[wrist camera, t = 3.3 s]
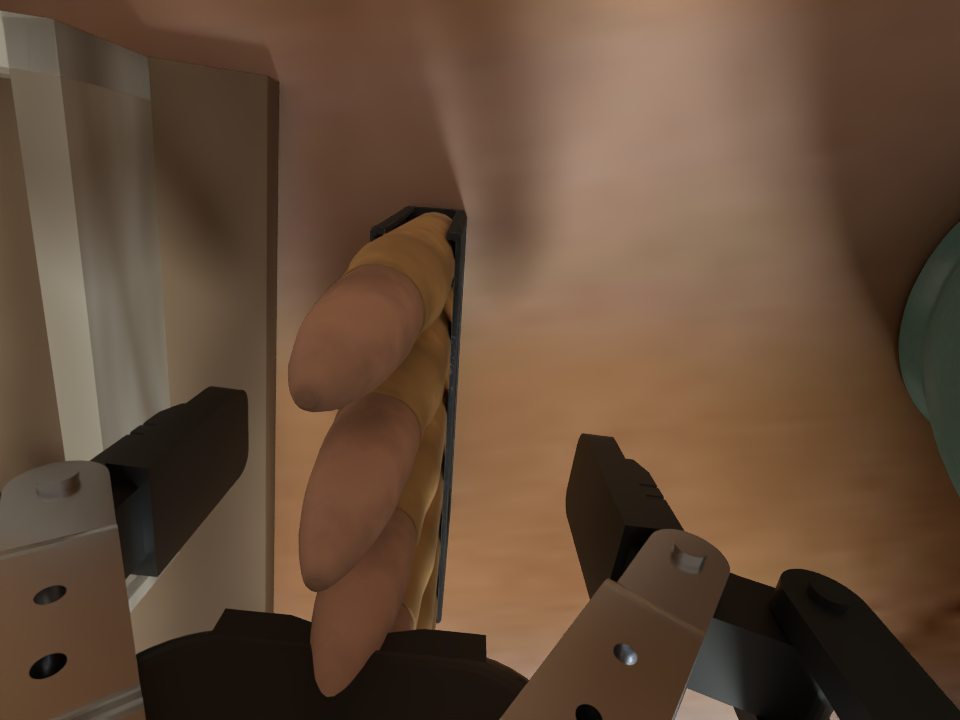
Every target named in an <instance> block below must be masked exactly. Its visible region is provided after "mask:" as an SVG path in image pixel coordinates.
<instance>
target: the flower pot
mask: <svg viewBox="0 0 960 720" xmlns="http://www.w3.org/2000/svg"><path fill="white" fill-rule="evenodd" d="M899 363H900V369H901V373H902V377H903V381H904V383H905V386H906V389H907V391H908V393H909V395H910V397H911V399H912V401H913V403H914V404H915V406H916V407H917V409H918V410H919V411H920V412H921V413H922V415H923V416H924V417H925V418H926V419H927V420H928V421H929V422H930V424H931V427H932V431H933V435H934V438H935V442H936V445H937V448H938V451H939V453H940V456H941V459H942V461H943V463H944V466H945V468H946V470H947V473H948V475H949V478H950V480H951V482H952V484H953V486H954V488H955V490H956V492H957V494H958V496H959V497H960V221H959V222H958V223H957V224H956V225H955V226H954V227H953V228H952V229H951V230H950V232H949V233H948V234H947V235H946V236H945V237H944V238H943V239H942V241H941V242H940V243H939V245H938V246H937V248H936V249H935V250H934V252H933V253H932V255H931V256H930V257H929V259H928V260H927V262H926V264H925V266H924V267H923V269H922V271H921V273H920V274H919V276H918V278H917V280H916V282H915V284H914V286H913V288H912V291H911V293H910V295H909V298H908V301H907V304H906V307H905V310H904V314H903V318H902V322H901V328H900V335H899Z"/></svg>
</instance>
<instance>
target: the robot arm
mask: <svg viewBox="0 0 960 720" xmlns="http://www.w3.org/2000/svg"><path fill="white" fill-rule="evenodd" d="M248 452H249V430H248V396H247V393H246V392H245V391H244V390H239V389H231V388H223V387H215V386H209V387H207V388H206V389H204V390H203V391H202V392H200V393H199V394H198V395H196V396H195V397H194V398H192V399H191V400H190V401H188V402H187V403H181V404H178V405H176V406H173V407H170V408H168V409H165V410H162V411H159V412H158V413H157V414H155V415H154V416H152V417H151V418H149V419H148V420H147V421H145V422H144V423H143V425H140V426H138V427H137V428H135V429H134V430H132V431H131V432H130V435H125V436H124V437H122V438H121V439H120V440H118V441H117V442H115V443H114V444H113V445H111V446H110V447H108V448H107V449H105V450H104V451H103V452H101V453H100V454H98V455H97V456H95V457H94V458H93V459H91V460H90V461H84V460H73V461H63V462H56V463H51V464H47V465H43V466H40V467H37V468H34V469H31V470H29V471H26V472H24V473H22V474H20V475H18V476H17V477H15V478H14V479H12V480H11V481H10V482H8V483H7V484H6V485H5V487H4V488H3V490H2V492H0V720H675V717H676V715H677V712H678V709H679V707H680V704H681V702H682V699H683V696H684V694H685V691H686V689H687V688H688V689H691V690H693V691H696V692H698V693H701V694H703V695H706V696H708V697H711V698H713V699H716V700H718V701H721V702H723V703H726V704H728V705H731V706H733V707H734V710H735V712H736V714H737V717H738V719H739V720H830V719H829V718H830V716H831V714H832V712H833V710H834V711H835V713H836V714H837V716H838V717H839V719H840V720H960V711H959V709H958V708H957V707H956V706H955V705H954V704H953V703H952V701H951V700H950V699H949V698H948V697H947V696H946V695H945V693H944V692H943V691H942V690H941V689H940V688H939V687H938V685H937V684H936V683H935V682H934V681H933V680H932V678H931V677H930V676H929V675H928V674H927V673H926V672H925V670H924V669H923V668H922V667H921V666H920V665H919V664H918V662H917V661H916V660H915V659H914V658H913V657H912V656H911V654H910V653H909V652H908V651H907V650H906V649H905V648H904V646H903V645H902V644H901V643H900V642H899V641H898V640H897V638H896V637H895V636H894V635H893V634H892V633H891V631H890V630H889V629H888V628H887V627H886V626H885V625H884V623H883V622H882V621H881V620H880V619H879V618H878V617H877V615H876V614H875V613H874V612H873V611H872V610H871V609H870V607H869V606H868V605H867V604H866V603H865V602H864V601H863V600H862V599H861V598H860V597H859V596H857V595H856V594H855V593H854V592H852V591H851V590H850V589H848V588H847V587H845V586H843V585H842V584H840V583H838V582H837V581H835V580H833V579H831V578H829V577H826V576H824V575H821V574H819V573H816V572H813V571H809V570H804V569H789V570H786V571H784V572H783V573H782V574H781V576H780V579H779V581H778V583H777V586H776V588H774V587H771V586H768V585H765V584H762V583H758V582H755V581H752V580H749V579H746V578H743V577H740V576H738V575H735V574H732V573H730V566H729V563H728V561H727V560H726V558H725V557H724V555H723V554H722V553H721V552H720V551H719V550H718V549H717V548H716V547H714V546H713V545H712V544H710V543H709V542H707V541H706V540H704V539H702V538H700V537H698V536H696V535H694V534H691V533H688V532H685V531H684V530H683V528H682V526H681V525H680V523H679V521H678V520H677V518H676V516H675V515H674V513H673V511H672V510H671V508H670V506H669V505H668V503H667V502H666V500H664V497H663V495H662V493H661V492H660V490H659V488H657V485H656V483H655V482H654V480H653V478H652V477H651V475H650V474H649V472H648V471H647V470H645V469H644V468H643V467H642V466H640V465H639V464H638V463H637V462H636V461H634V460H632V459H625V457H624V455H623V453H622V452H621V450H620V448H619V446H618V444H617V442H616V441H615V439H614V438H613V437H608V436H600V435H592V434H584V433H583V434H581V436H580V438H579V440H578V444H577V448H576V452H575V457H574V461H573V465H572V470H571V474H570V478H569V483H568V487H567V493H566V514H567V518H568V522H569V525H570V529H571V533H572V536H573V540H574V544H575V547H576V551H577V554H578V558H579V562H580V565H581V569H582V572H583V576H584V580H585V583H586V587H587V591H588V594H589V598H590V601H589V602H588V603H587V605H586V606H585V607H584V609H583V610H582V611H581V613H580V614H579V615H578V617H577V618H576V619H575V621H574V622H573V623H572V624H571V626H570V627H569V628H568V630H567V631H566V632H565V634H564V635H563V636H562V638H561V639H560V640H559V642H558V643H557V644H556V646H555V647H554V648H553V650H552V651H551V652H550V654H549V655H548V656H547V657H546V659H545V660H544V661H543V663H542V664H541V665H540V667H539V668H538V669H537V671H536V672H535V673H534V675H533V676H532V677H531V679H530V680H528V679H527V678H525V677H524V676H522V675H521V674H519V673H518V672H516V671H514V670H513V669H511V668H510V667H508V666H505V665H503V664H501V663H499V662H497V661H495V660H492V659H489V658H487V657H486V635H479V634H470V633H460V632H450V631H441V630H431V629H416V630H408V631H400V632H391V633H387V635H386V638H385V640H384V642H383V644H382V646H381V648H380V650H376V651H375V652H374V653H373V654H372V655H371V656H370V658H369V659H368V660H367V662H366V663H365V665H364V666H363V668H362V669H361V670H360V672H359V673H358V674H357V675H356V677H355V678H354V679H353V680H352V681H351V683H350V684H349V685H348V686H347V687H346V688H345V689H344V690H342V691H341V692H339V693H338V694H336V695H335V696H330V697H326V696H325V695H324V694H323V693H321V691H320V689H319V687H318V685H317V682H316V680H315V674H314V665H313V654H312V648H311V644H310V635H311V626H312V622H309V621H306V620H304V619H301V618H298V617H295V616H292V615H286V614H276V613H266V612H257V611H247V610H237V609H227V608H225V610H224V612H223V614H222V615H221V617H220V619H219V620H218V622H217V624H216V625H215V627H214V629H213V630H211V631H203V632H198V633H194V634H189V635H185V636H181V637H178V638H175V639H171V640H168V641H165V642H163V643H160V644H158V645H155V646H152V647H150V648H148V649H146V650H144V651H141V652H139V653H137V654H136V652H135V645H134V638H133V631H132V624H131V617H130V610H129V602H128V595H127V588H126V581H125V580H126V579H127V577H128V576H129V575H130V574H132V575H141V576H151V577H158V576H159V575H160V574H161V572H162V571H163V570H164V569H165V568H166V566H167V565H168V564H169V563H170V562H171V560H172V559H173V558H174V557H175V555H176V554H177V553H178V552H179V551H180V549H181V548H182V547H183V546H184V544H185V543H186V542H187V541H188V540H189V538H190V537H191V536H192V535H193V533H194V532H195V531H196V530H197V529H198V527H199V526H200V525H201V524H202V523H203V521H204V520H205V519H206V518H207V516H208V515H209V514H210V513H211V512H212V510H213V509H214V508H215V507H216V505H217V504H218V503H219V502H220V501H221V499H222V498H223V497H224V496H225V494H226V493H227V492H228V491H229V490H230V488H231V487H232V486H233V485H234V484H235V482H236V481H237V480H238V479H239V477H240V476H241V475H242V473H243V471H244V469H245V466H246V463H247V459H248Z"/></svg>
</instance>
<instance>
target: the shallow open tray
mask: <svg viewBox="0 0 960 720" xmlns="http://www.w3.org/2000/svg"><path fill="white" fill-rule="evenodd" d="M278 133H279V82H278V81H276V80H274V79H272V78H270V77H269V76H265V75H259V74H252V73H246V72H240V71H233V70H227V69H221V68H214V67H208V66H202V65H196V64H189V63H183V62H177V61H170V60H164V59H158V58H151V57H147V56H144V55H142V54H139V53H137V52H134V51H132V50H129V49H127V48H124V47H122V46H119V45H117V44H114V43H112V42H109V41H107V40H104V39H102V38H100V37H97V36H95V35H92V34H90V33H87V32H85V31H82V30H80V29H77V28H75V27H72V26H70V25H67V24H65V23H62V22H60V21H57V20H55V19H50V18H44V17H37V16H31V15H25V14H19V13H13V12H6V11H0V492H2V490H3V488H4V487H5V485H6V484H7V483H8V482H10V481H11V480H12V479H14V478H15V477H17V476H18V475H20V474H22V473H24V472H26V471H29V470H31V469H34V468H37V467H40V466H43V465H47V464H51V463H56V462H63V461H73V460H84V461H90V460H91V459H93V458H94V457H95V456H97V455H98V454H100V453H101V452H103V451H104V450H105V449H107V448H108V447H110V446H111V445H113V444H114V443H115V442H117V441H118V440H120V439H121V438H122V437H124V436H125V435H130V432H131V431H132V430H134V429H135V428H137V427H138V426H140V425H143V423H144V422H145V421H147V420H148V419H149V418H151V417H152V416H154V415H155V414H157V413H158V412H159V411H162V410H165V409H168V408H170V407H173V406H176V405H178V404H181V403H187V402H188V401H190V400H191V399H192V398H194V397H195V396H196V395H198V394H199V393H200V392H202V391H203V390H204V389H206V388H207V387H209V386H215V387H223V388H231V389H239V390H244V391H245V392H246V393H247V396H248V430H249V452H248V459H247V463H246V466H245V469H244V471H243V473H242V475H241V476H240V477H239V479H238V480H237V481H236V482H235V484H234V485H233V486H232V487H231V488H230V490H229V491H228V492H227V493H226V494H225V496H224V497H223V498H222V499H221V501H220V502H219V503H218V504H217V505H216V507H215V508H214V509H213V510H212V512H211V513H210V514H209V515H208V516H207V518H206V519H205V520H204V521H203V523H202V524H201V525H200V526H199V527H198V529H197V530H196V531H195V532H194V533H193V535H192V536H191V537H190V538H189V540H188V541H187V542H186V543H185V544H184V546H183V547H182V548H181V549H180V551H179V552H178V553H177V554H176V555H175V557H174V558H173V559H172V560H171V562H170V563H169V564H168V565H167V566H166V568H165V569H164V570H163V571H162V572H161V574H160V575H159V576H158V577H151V576H141V575H132V574H130V575H129V576H128V577H127V579H126V580H125V581H126V588H127V595H128V602H129V610H130V617H131V624H132V631H133V638H134V645H135V652H136V654H137V653H139V652H141V651H144V650H146V649H148V648H150V647H152V646H155V645H158V644H160V643H163V642H165V641H168V640H171V639H175V638H178V637H181V636H185V635H189V634H194V633H198V632H203V631H211V630H213V629H214V627H215V625H216V624H217V622H218V620H219V619H220V617H221V615H222V614H223V612H224V610H225V608H227V609H237V610H247V611H257V612H266V613H273V597H274V504H275V411H276V319H277V226H278Z"/></svg>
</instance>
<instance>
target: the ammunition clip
mask: <svg viewBox="0 0 960 720" xmlns="http://www.w3.org/2000/svg"><path fill="white" fill-rule="evenodd" d="M466 227H467V215H466V213H465V211H464V210H454V209H440V208H425V207H411V206H407V207H405V208H404V209H402V210H401V211H399V212H398V213H396V214H394V215H393V216H391V217H390V218H388V219H387V220H385V221H384V222H382V223H380V224H378V225H376V226H374V227H372V228H371V231H370V243H368V244H366V245H365V246H363V247H362V249H361V250H360V251H359V252H358V253H357V254H356V255H355V257H354V258H353V259H352V260H351V262H350V265H349V268H348V270H347V271H346V272H345V273H344V274H343V276H342V277H341V278H340V279H339V280H338V281H337V282H335V283H334V284H333V285H332V286H330V288H329V289H328V290H327V291H326V292H325V293H324V295H323V296H322V297H321V298H320V299H319V300H318V302H317V303H316V304H315V305H314V306H313V308H312V309H311V310H310V312H309V313H308V314H307V316H306V317H305V319H304V321H303V323H302V325H301V327H300V330H299V332H298V334H297V337H296V341H295V344H294V347H293V350H292V354H291V357H290V361H289V364H288V382H289V389H290V393H291V396H292V398H293V400H294V402H295V404H296V405H297V406H298V407H299V408H301V409H303V410H306V411H310V412H322V411H332V410H335V409H338V412H337V415H336V417H335V420H334V422H333V424H332V426H331V428H330V429H329V431H328V433H327V435H326V437H325V439H324V441H323V444H322V446H321V449H320V451H319V454H318V457H317V459H316V462H315V465H314V467H313V470H312V473H311V476H310V478H309V481H308V485H307V488H306V492H305V497H304V501H303V506H302V513H301V521H300V528H299V560H300V567H301V574H302V578H303V581H304V583H305V585H306V586H307V587H308V588H309V589H310V590H311V591H314V592H317V596H316V600H315V604H314V609H313V615H312V621H311V622H312V626H311V635H310V644H311V648H312V654H313V665H314V674H315V680H316V682H317V685H318V687H319V689H320V691H321V693H323V694H324V695H325V696H326V697H330V696H335V695H336V694H338V693H339V692H341V691H342V690H344V689H345V688H346V687H347V686H348V685H349V684H350V683H351V681H352V680H353V679H354V678H355V677H356V675H357V674H358V673H359V672H360V670H361V669H362V668H363V666H364V665H365V663H366V662H367V660H368V659H369V658H370V656H371V655H372V654H373V653H374V652H375V651H376V650H380V648H381V646H382V644H383V642H384V640H385V638H386V635H387V633H391V632H400V631H408V630H416V629H431V630H435V627H436V623H440V621H441V616H442V604H443V593H444V581H445V569H446V557H447V546H448V534H449V522H450V509H451V492H452V474H453V457H454V439H455V421H456V404H457V386H458V368H459V351H460V333H461V315H462V298H463V280H464V262H465V245H466Z"/></svg>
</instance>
